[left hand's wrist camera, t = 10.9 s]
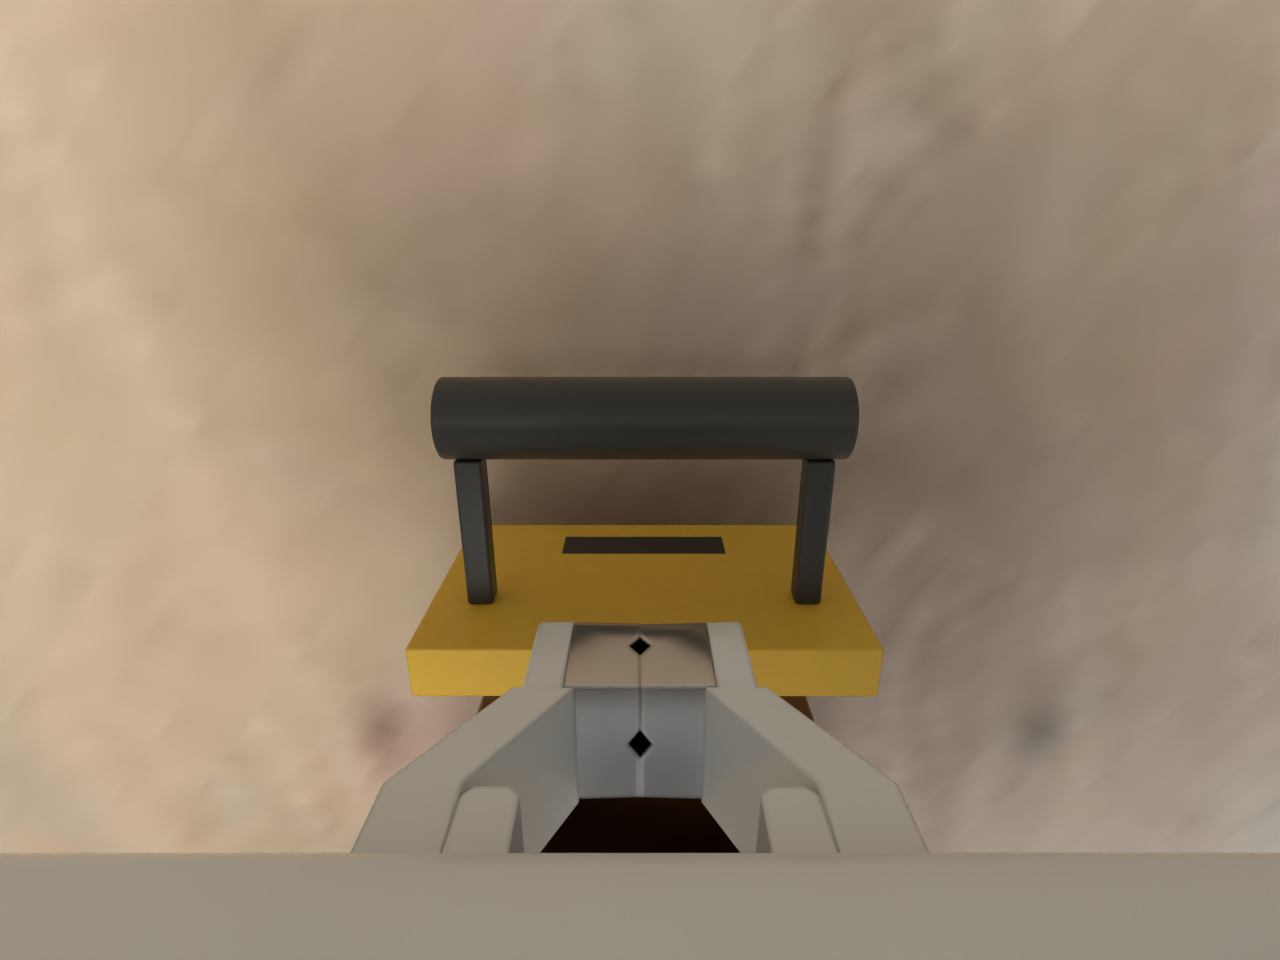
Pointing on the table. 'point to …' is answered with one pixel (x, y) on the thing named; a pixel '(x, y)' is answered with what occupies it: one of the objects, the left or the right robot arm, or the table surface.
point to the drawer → (645, 555)
